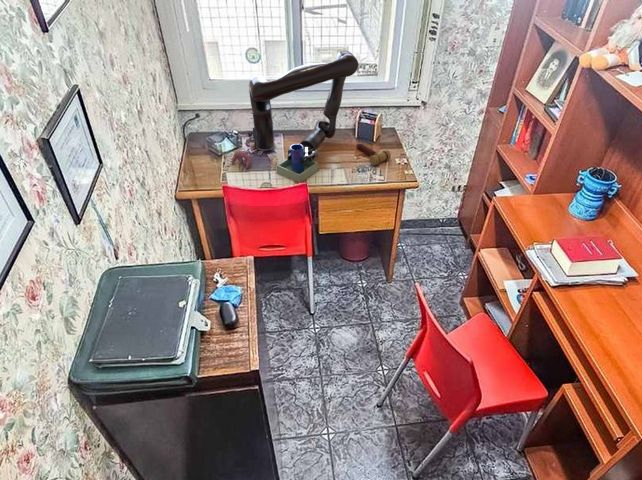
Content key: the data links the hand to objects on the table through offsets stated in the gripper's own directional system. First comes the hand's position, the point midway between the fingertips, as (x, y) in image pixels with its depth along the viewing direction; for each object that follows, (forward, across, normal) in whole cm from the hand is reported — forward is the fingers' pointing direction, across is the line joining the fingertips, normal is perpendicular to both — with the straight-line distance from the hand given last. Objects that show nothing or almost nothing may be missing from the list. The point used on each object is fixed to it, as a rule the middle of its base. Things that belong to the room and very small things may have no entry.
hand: (295, 160), depth 215 cm
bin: (-2, 0, +7) cm, 7 cm away
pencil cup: (-2, 0, +7) cm, 7 cm away
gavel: (-32, +25, +8) cm, 41 cm away
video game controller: (+4, -27, +7) cm, 28 cm away
